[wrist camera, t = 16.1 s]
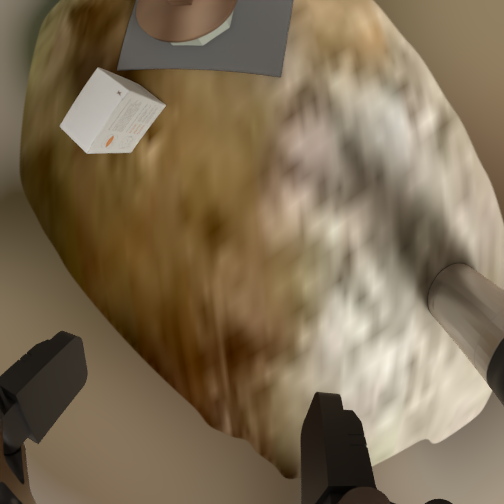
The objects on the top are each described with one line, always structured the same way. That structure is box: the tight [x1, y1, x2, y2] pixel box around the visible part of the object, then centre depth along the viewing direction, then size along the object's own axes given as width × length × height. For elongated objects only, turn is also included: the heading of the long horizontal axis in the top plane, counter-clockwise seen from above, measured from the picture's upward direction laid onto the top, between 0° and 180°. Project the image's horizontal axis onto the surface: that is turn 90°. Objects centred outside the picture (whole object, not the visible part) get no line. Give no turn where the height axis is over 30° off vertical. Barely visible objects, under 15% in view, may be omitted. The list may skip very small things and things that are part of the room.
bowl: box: [171, 10, 234, 46], centre depth 28 cm, size 10×10×5 cm
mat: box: [117, 0, 293, 77], centre depth 31 cm, size 22×14×1 cm, turn 81°
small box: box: [60, 67, 166, 154], centre depth 31 cm, size 8×6×10 cm
